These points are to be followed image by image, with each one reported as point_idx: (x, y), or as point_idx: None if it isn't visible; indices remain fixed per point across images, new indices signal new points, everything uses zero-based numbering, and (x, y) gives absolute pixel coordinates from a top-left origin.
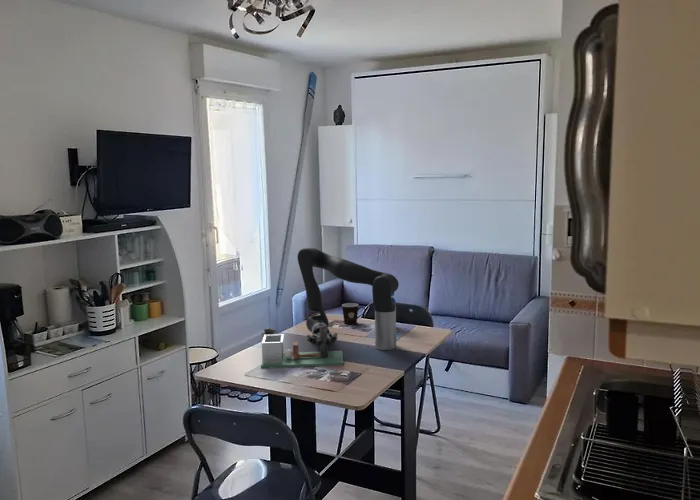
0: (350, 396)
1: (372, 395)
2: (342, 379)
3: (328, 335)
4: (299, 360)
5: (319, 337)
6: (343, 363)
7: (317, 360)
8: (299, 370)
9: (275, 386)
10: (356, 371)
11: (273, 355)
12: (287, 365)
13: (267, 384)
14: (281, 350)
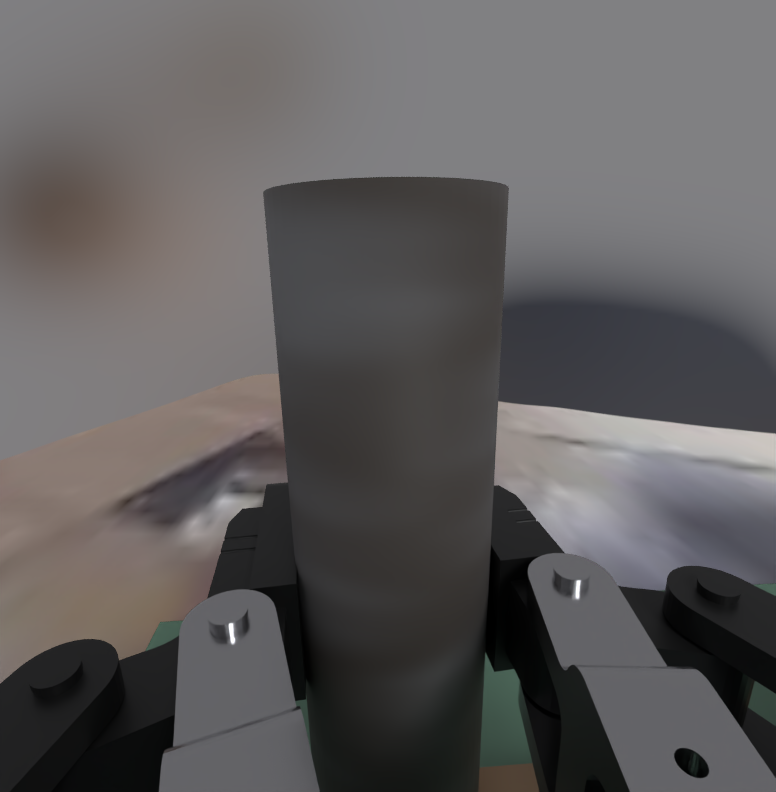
0: (276, 390)
1: (197, 393)
2: (270, 459)
3: (197, 733)
4: (750, 705)
5: (544, 622)
6: (163, 629)
7: (483, 700)
8: (589, 547)
9: (597, 421)
10: (127, 531)
11: None
12: (768, 589)
13: (652, 430)
14: None
